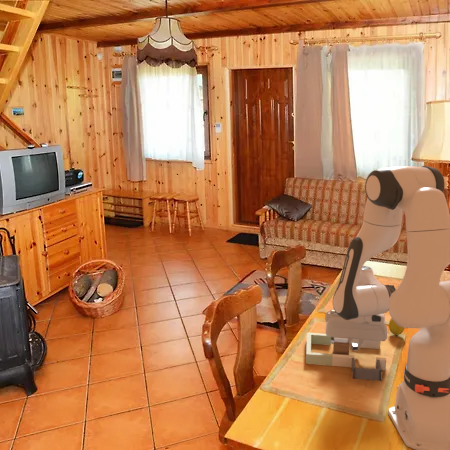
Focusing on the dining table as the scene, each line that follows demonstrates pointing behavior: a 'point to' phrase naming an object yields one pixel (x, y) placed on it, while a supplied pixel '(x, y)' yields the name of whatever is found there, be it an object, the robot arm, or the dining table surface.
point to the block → (341, 346)
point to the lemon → (395, 328)
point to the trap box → (344, 357)
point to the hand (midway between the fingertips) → (354, 349)
